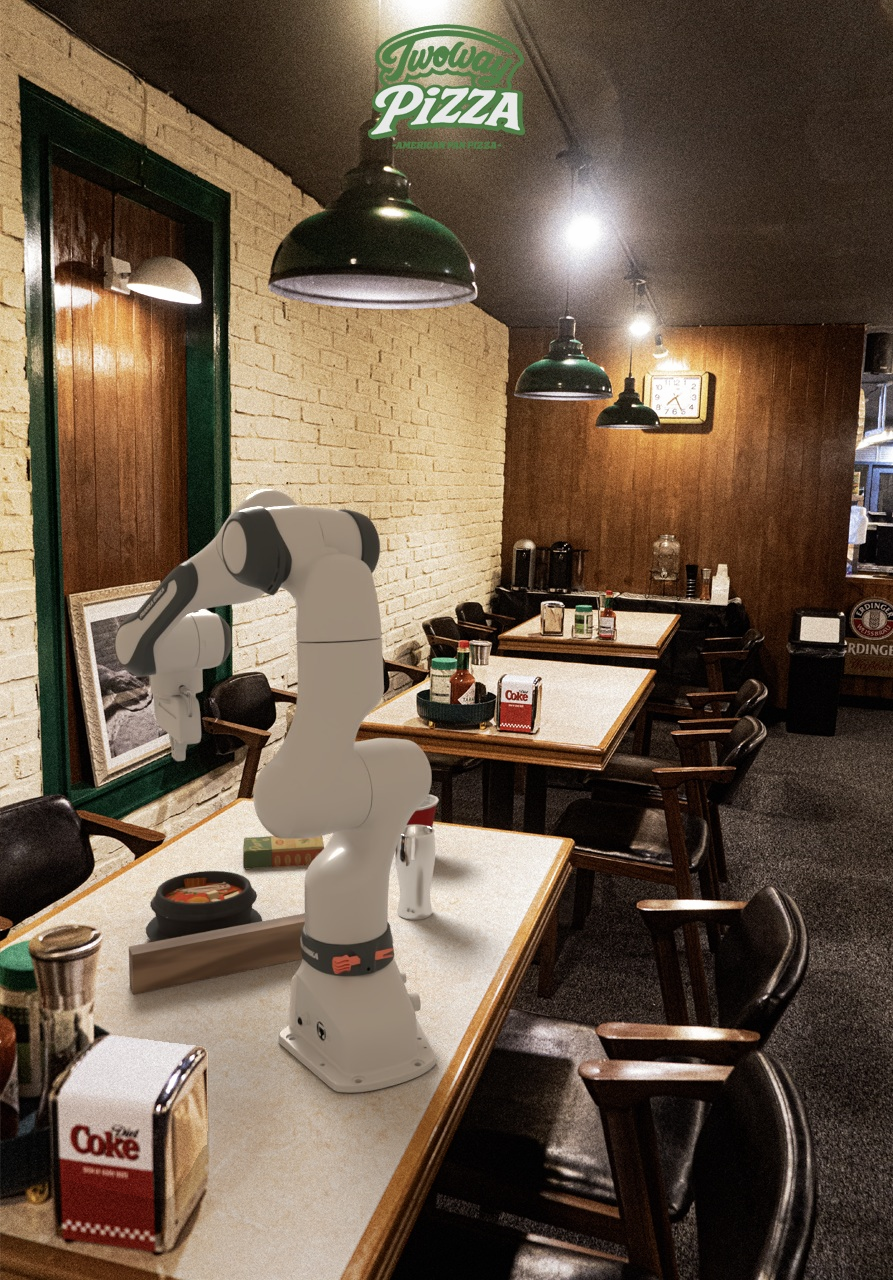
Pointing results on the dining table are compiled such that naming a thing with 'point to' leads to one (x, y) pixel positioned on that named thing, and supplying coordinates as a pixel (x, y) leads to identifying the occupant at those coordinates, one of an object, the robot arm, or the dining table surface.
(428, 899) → the beer glass
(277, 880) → the dining table surface
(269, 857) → the carton
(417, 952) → the dining table surface
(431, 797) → the plastic cup
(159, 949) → the walnut board
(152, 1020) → the dining table surface
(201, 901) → the casserole
